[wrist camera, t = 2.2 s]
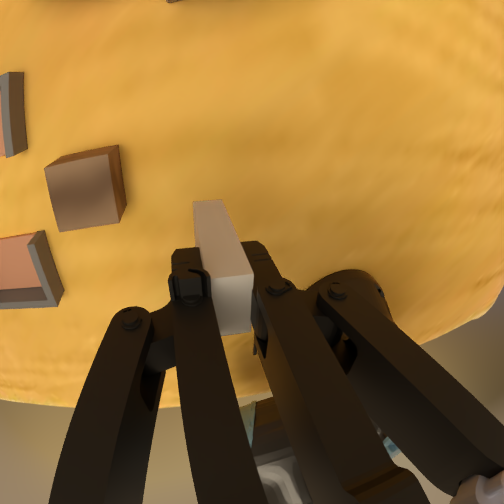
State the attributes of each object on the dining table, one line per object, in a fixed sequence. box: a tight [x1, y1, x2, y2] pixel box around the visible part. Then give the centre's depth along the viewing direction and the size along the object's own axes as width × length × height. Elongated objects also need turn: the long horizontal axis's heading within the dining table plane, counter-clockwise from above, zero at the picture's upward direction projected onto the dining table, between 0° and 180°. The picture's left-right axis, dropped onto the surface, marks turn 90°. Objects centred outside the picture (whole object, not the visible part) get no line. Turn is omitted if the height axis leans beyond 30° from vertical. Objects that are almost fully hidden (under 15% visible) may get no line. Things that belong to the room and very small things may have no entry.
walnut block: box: [44, 145, 127, 232], centre depth 22 cm, size 6×6×4 cm
